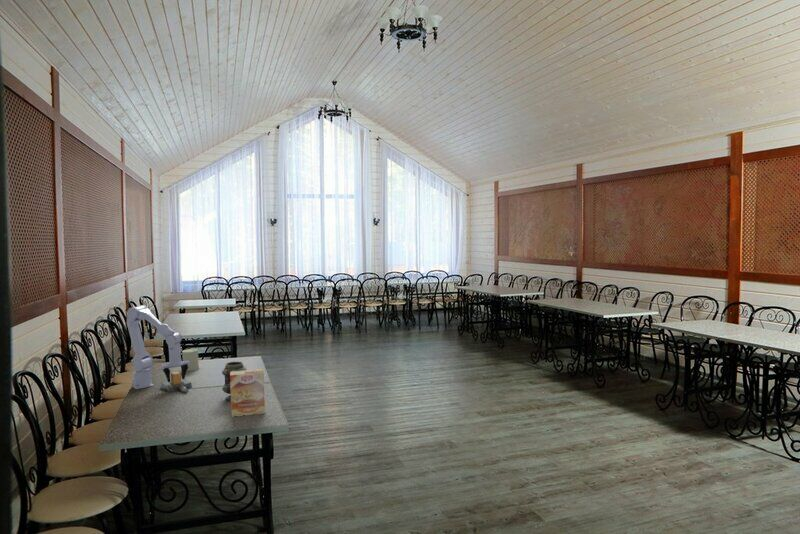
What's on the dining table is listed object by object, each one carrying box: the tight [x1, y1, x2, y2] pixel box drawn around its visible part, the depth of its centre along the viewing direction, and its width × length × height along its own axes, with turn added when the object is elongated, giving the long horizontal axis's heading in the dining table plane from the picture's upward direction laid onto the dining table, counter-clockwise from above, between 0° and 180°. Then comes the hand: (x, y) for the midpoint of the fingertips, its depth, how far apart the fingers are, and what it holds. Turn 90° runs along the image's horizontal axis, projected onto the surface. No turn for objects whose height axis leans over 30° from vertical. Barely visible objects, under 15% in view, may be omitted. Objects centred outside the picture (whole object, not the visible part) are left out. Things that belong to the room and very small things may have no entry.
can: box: [181, 348, 200, 372], centre depth 336 cm, size 9×9×12 cm
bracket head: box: [160, 378, 193, 394], centre depth 296 cm, size 12×20×2 cm, turn 41°
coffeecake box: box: [230, 368, 266, 418], centre depth 255 cm, size 15×7×20 cm, turn 106°
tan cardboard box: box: [170, 371, 182, 385], centre depth 299 cm, size 4×4×8 cm
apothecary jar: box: [221, 360, 248, 402], centre depth 277 cm, size 12×12×18 cm
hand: (176, 380), depth 299 cm, fingers open, 7 cm apart
